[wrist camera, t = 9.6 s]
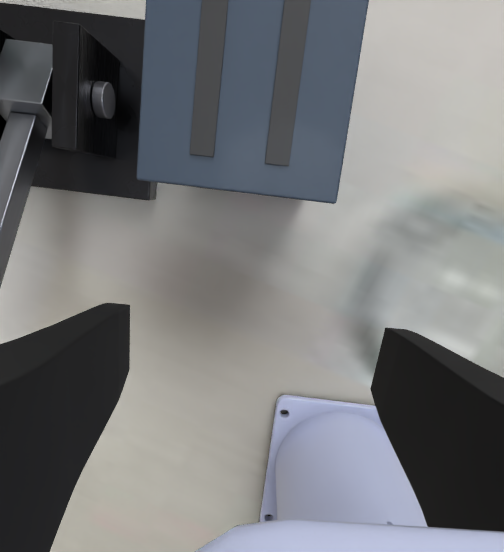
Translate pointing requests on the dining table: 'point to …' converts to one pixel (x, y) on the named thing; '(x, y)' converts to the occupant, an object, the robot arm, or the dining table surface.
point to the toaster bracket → (87, 98)
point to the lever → (21, 130)
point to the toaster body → (249, 94)
